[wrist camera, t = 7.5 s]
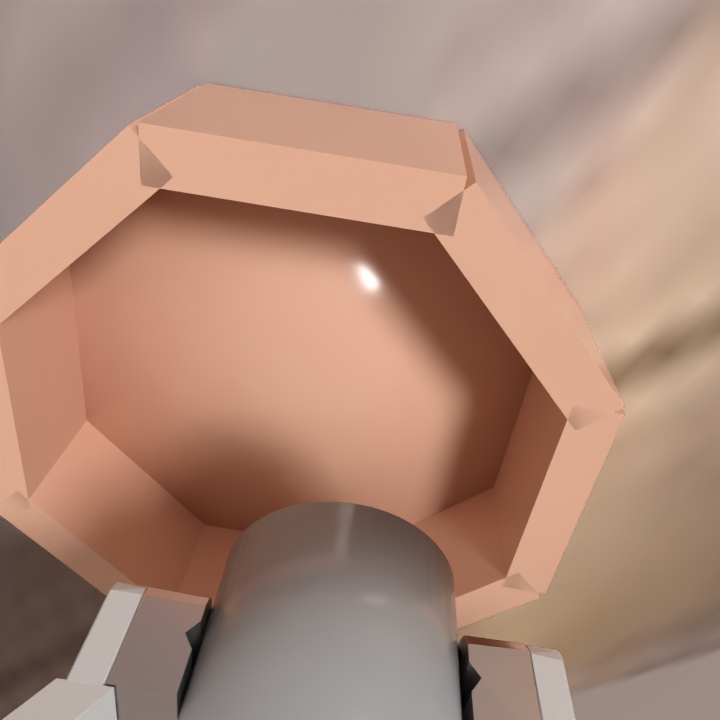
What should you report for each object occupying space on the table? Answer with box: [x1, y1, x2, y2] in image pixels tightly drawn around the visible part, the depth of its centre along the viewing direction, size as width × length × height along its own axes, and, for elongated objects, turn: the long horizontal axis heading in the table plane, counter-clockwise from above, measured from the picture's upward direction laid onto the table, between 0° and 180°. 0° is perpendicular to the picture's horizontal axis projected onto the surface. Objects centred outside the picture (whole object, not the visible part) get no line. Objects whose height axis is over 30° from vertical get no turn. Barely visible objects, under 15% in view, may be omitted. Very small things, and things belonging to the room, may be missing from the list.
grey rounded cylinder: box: [177, 502, 463, 720], centre depth 10 cm, size 4×4×4 cm
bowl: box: [0, 83, 625, 629], centre depth 15 cm, size 13×13×4 cm
